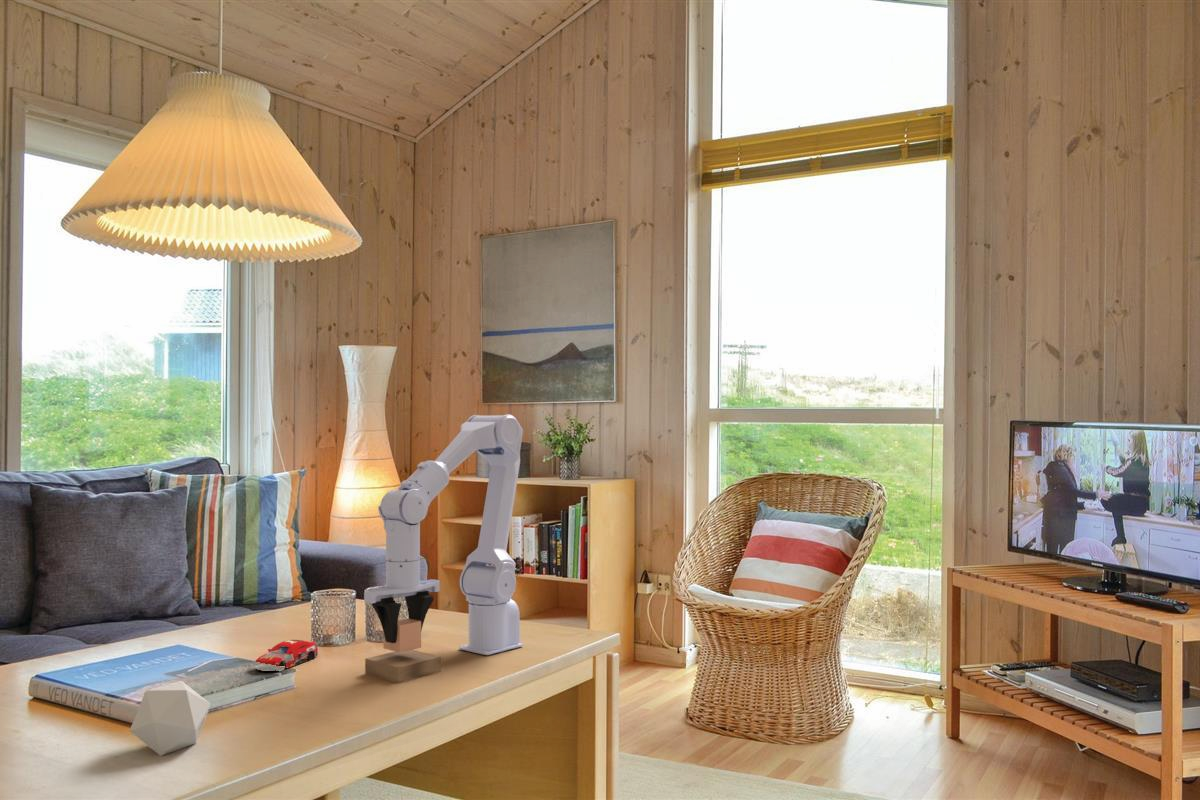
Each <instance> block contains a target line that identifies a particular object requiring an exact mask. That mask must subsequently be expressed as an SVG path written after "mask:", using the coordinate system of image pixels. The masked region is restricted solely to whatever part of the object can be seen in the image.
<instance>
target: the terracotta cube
mask: <svg viewBox="0 0 1200 800" xmlns="http://www.w3.org/2000/svg"><path fill="white" fill-rule="evenodd" d="M382 635H383V639H382V640H383V643H382V644H383V645H382V646H383V649H384V650H389V651H392V652H395V651H396V652H404V651H409V650H416V649H420V648H421V649H422V631H421V621H418V620H413V619H409V617H402V618H401V617H400V618H398V623H397V640H396V643H389V642H386V640H385V636H384V632H383V634H382Z"/></svg>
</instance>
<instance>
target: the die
mask: <svg viewBox="0 0 1200 800" xmlns="http://www.w3.org/2000/svg"><path fill="white" fill-rule="evenodd" d="M211 706H212V703H210V702H209V701H208V700H207V699H205V698H204V697H202V695H200V694H199V693H198V692H196V691H195V690H194V689H193V688H191V687H190V686H189V685H188V684H186V683H185V682H184V681H182V680H179V681H175V682H171V683H168V684H164V685H160V686H157V687H152V688H150V689H146V690H145V692H144V694H143V697H142V699H141V701H140V704H139V707H138V709H137V712H136V714H135V717H134V718H133V721H132V724H131V726H130V729H129V732H130V733H131V734H133V735H134V736H135V737H137V738H138V740H140V741H141V742H143V743H144V744H145V745H146V746H147V747H149V748H150V749H152V750H153V752H155V753H156V754H158V755H159V756H165V755H167V754H170V753H173V752H175V751H179V750H181V749H185V748H187V747H189V746H192V745H195V744H197V741H198V739H199V737H200V733H201V731H202V729H203V726H204V723H205V721H206V718H207V715H208V714H209V710H210V707H211Z"/></svg>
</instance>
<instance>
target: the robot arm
mask: <svg viewBox="0 0 1200 800" xmlns="http://www.w3.org/2000/svg"><path fill="white" fill-rule="evenodd" d="M523 434H524V429H523V428H522V426H521V424H520V423H519V421H518V420H517V418H516V416H514V415H512V414H504V415H481V414H473V415H472V416H470V417H469V418H468V419H467V420H466V421H465V422H464V423H463V422H462V424H461V426H460V432H458V434H457V435H455V437H454V438H453V439H452V440H451V442H450V443H449V444H448V445H447V447H446V448H445V449H444V450H443V451H442V452H441V453H440V454H439V455H438V457H437V458H436V459H435V460H425V461H420V462H419V464H417V466H416V467H417V469H416V470H415V471H414V472H413V473H412V474H411V475H410V476H409V477H408V478H407V479H406V480H405V479H403V480H402V481H401V482H400V486H399V487H398V488H396V489H395V488H394V489H390V490H388V491H387V492H386V493H385V495H383V497H382V498H381V501H380V505H378V506H377V507H378V510H377V511H378V514H379V516H380V518H381V519H382V521H383V530H384V531H385V584H384V585H381V586H378V587H375V588H371V589H367V590H364V593H363V595H364V596H363V602H364V603H366V604H370V605H371V606H372V608H373V610H374V611H375V613H376V615H377V616H378V619H379V622H380V625H381V628H382V631H383V632H384V636H385V640H386V642H389V643H396V640H397V623H398V619H399V615H400V611H401V607H402V603H400V602H396V600H395V599H398V598H405V599H404V601H405V603H406V609H407V618H409V619H413V620H418V621H421V632H422V630H423V627H424V622H425V619H426V616H427V613H428V612H429V609H430V608H431V605H432V603H433V602H434V595H433V594H430V593H431V592H433V593H437V592H440V591H441V589H440V588H441V587H440V585H441V583H440V582H441V581H440V580H439V579H433V578H432V579H424V580H421V522H422V521H423V520H424V519H425V518H426V516H427V514H428V510H429V507H430V505H431V502H432V501H433V500H434V499H435V498H436V497H437V496H438V495H439V494H440V493H441V492H442V491H443V490H444V489H445V488H446V487H447V486H448V485H449V483H450V474H451V473H452V472H453V471H454V470H455V469H456V468H458V467H459V466H460V465H461V464H462V463H463V462H465V460H466V459H468V458H470V456H471V455H472V454H474V452H477V453H478V454H479V455H480V456H481V457H482V458H483V459H485V460H486V462H487V463H488V465H489V466H490V470H489V477H488V480H487V481H488V482H487V483H488V484H487V488H486V489H487V490H486V495H485V501H484V507H483V513H482V518H481V519H482V520H481V525H480V532H479V537H478V544H477V548H475V550H474V551H472V552H471V553H470V554H469V555H467V557H466V561H465V565H464V567H463V570H462V571H461V574H460V577H459V587H460V591H461V592H462V594H463V595H464V596H465V601H466V602H468V643H467V644H463V645H460V646H458V649H459V650H462V651H466V652H471V653H475V654H478V655H484V656H489V655H494V654H498V653H502V652H505V651H509V650H512V649H517V648H520V647H523V645H524V644H523V643H522V642H520V641H521V640H520V639H521V638H520V637H521V635H520V633H521V632H520V631H521V629H520V627H521V625H520V624H521V622H520V616H521V615H520V609H519V605H518V604H517V602H516V601H515V600H513V599H512V597H513V596H514V594H515V591H516V588H517V578H516V562H515V560H514V559H513V558H512V557H511V555H509V553H508V552H507V549H508V542H509V536H510V529H511V524H512V517H513V510H514V504H515V497H516V492H517V485H518V478H519V473H520V465H521V447H522V440H523ZM488 565H489V566H488ZM490 565H493V566H490Z"/></svg>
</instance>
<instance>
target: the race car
mask: <svg viewBox="0 0 1200 800" xmlns="http://www.w3.org/2000/svg"><path fill="white" fill-rule="evenodd" d="M318 652H319V651H318V646H317V643H316V642H315V641H309V640H301V639H287V640H285V641H284V640H283V641H281V642H279V643H277V644H275V645H274V646H273V647H272V648H268V649H267V652H266V653H264V654H263V655H260V656H259V657H258V658H257V659H256V660H255V661H254V663H255V662H260V663H265V664H271V665H276V666H285V667H289V668H292V667H294V666H297V665H300V664H302V663H305V662H310V661H313V660H314V658H316V657H318Z"/></svg>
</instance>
